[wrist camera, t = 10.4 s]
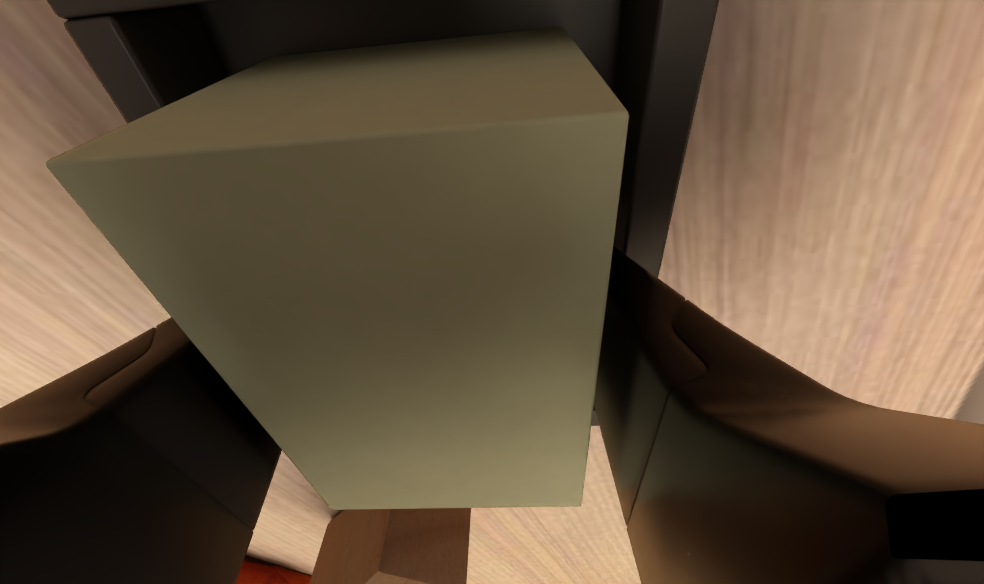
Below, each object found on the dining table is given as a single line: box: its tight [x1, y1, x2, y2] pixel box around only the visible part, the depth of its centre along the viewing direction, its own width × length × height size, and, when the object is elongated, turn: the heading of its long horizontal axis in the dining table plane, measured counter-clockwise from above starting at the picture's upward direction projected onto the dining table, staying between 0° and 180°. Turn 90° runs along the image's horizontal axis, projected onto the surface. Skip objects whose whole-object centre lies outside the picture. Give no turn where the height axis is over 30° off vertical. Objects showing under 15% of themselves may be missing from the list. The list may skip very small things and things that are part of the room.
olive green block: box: [46, 27, 629, 510], centre depth 8 cm, size 8×6×5 cm
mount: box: [47, 0, 719, 426], centre depth 10 cm, size 12×9×3 cm
